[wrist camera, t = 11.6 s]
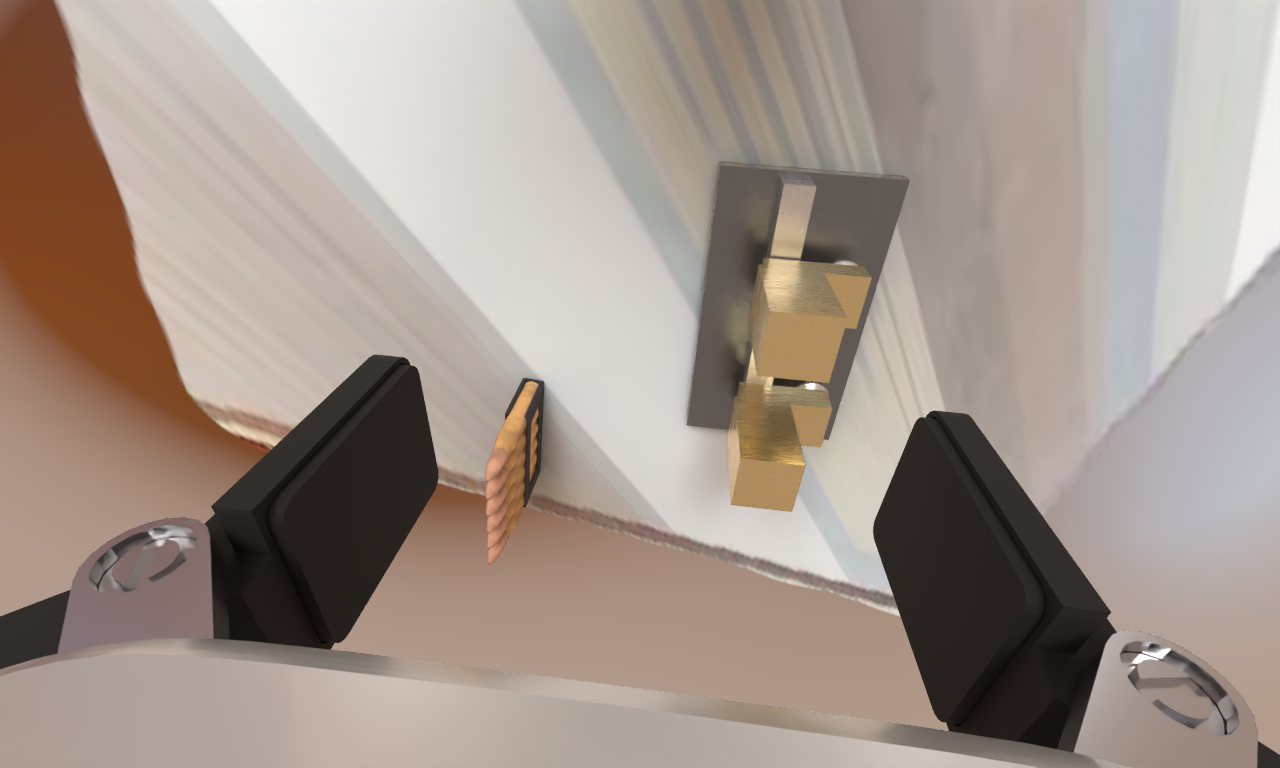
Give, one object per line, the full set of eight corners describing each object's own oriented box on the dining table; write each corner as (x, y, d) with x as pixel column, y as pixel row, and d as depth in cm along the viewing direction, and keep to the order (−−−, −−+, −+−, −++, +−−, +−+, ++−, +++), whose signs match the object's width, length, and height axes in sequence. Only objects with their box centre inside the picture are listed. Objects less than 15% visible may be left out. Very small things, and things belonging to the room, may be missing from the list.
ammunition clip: (523, 376, 47) (473, 469, 36) (544, 380, 47) (500, 473, 36) (521, 468, 52) (478, 569, 42) (540, 471, 52) (501, 573, 42)
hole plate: (719, 162, 36) (726, 209, 25) (903, 176, 35) (986, 231, 25) (687, 416, 47) (682, 520, 37) (825, 431, 46) (860, 541, 36)
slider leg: (754, 248, 37) (770, 310, 28) (860, 257, 36) (908, 323, 28) (745, 302, 39) (756, 375, 30) (844, 311, 38) (885, 388, 30)
